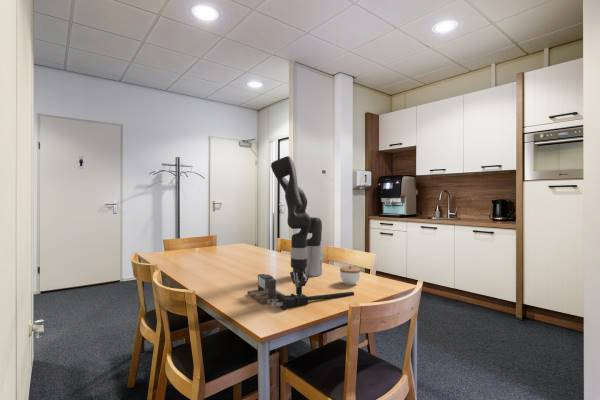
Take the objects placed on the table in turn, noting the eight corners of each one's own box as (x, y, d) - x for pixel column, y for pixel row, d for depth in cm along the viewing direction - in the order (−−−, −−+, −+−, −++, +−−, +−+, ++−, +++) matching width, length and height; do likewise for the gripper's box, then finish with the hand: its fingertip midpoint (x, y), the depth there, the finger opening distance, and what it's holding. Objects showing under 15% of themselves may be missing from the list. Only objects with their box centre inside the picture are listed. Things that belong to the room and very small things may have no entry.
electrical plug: (265, 305, 134) (266, 293, 134) (347, 296, 152) (347, 285, 152) (273, 312, 126) (273, 300, 126) (358, 301, 144) (358, 290, 144)
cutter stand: (247, 294, 148) (247, 275, 148) (270, 290, 154) (270, 271, 154) (261, 304, 135) (261, 283, 134) (286, 299, 141) (286, 279, 141)
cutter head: (258, 291, 146) (258, 275, 146) (268, 289, 149) (268, 273, 149) (264, 295, 140) (264, 278, 140) (275, 293, 143) (274, 277, 143)
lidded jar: (361, 281, 170) (361, 263, 170) (359, 287, 160) (359, 268, 160) (341, 279, 173) (341, 262, 173) (338, 285, 163) (338, 267, 163)
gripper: (284, 255, 148) (284, 292, 149) (299, 260, 137) (299, 300, 137) (298, 253, 152) (298, 289, 153) (313, 258, 141) (313, 297, 141)
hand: (298, 294), depth 145 cm, fingers closed
